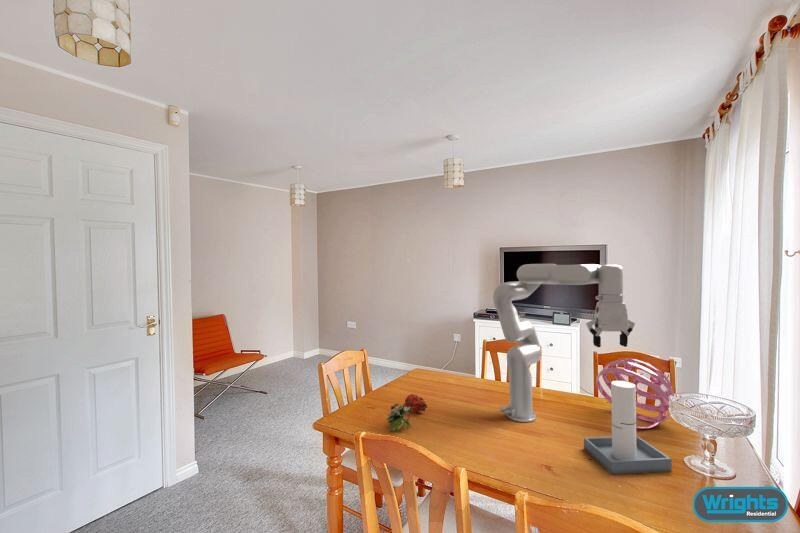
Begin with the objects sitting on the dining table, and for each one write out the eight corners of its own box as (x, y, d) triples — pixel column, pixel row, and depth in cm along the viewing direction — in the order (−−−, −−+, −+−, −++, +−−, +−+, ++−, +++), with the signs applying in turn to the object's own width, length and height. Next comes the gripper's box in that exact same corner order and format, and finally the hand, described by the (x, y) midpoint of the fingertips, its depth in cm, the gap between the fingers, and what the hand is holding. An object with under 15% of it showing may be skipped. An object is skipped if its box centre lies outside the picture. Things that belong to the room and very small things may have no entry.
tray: (612, 474, 116) (611, 462, 116) (584, 448, 132) (583, 437, 132) (671, 471, 117) (671, 458, 117) (636, 446, 133) (636, 435, 133)
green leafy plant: (395, 436, 155) (400, 407, 162) (415, 438, 149) (420, 408, 156) (379, 429, 149) (385, 400, 155) (400, 431, 142) (405, 400, 149)
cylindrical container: (636, 464, 120) (635, 389, 119) (612, 458, 123) (610, 385, 123) (636, 454, 126) (635, 382, 125) (612, 448, 129) (611, 379, 129)
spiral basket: (632, 393, 132) (659, 343, 144) (571, 388, 157) (598, 346, 169) (676, 450, 134) (699, 396, 146) (609, 437, 159) (633, 391, 171)
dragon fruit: (405, 411, 173) (425, 421, 165) (397, 405, 167) (418, 415, 159) (412, 394, 176) (433, 403, 168) (405, 388, 170) (426, 397, 163)
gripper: (592, 300, 126) (592, 349, 126) (641, 299, 126) (640, 348, 127) (581, 298, 133) (581, 344, 134) (627, 297, 134) (626, 343, 134)
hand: (610, 346), depth 130 cm, fingers open, 9 cm apart
